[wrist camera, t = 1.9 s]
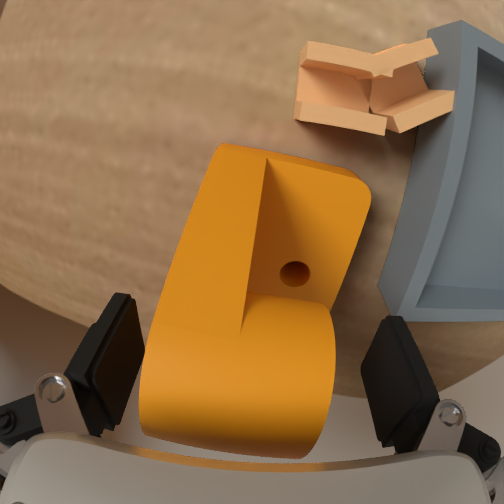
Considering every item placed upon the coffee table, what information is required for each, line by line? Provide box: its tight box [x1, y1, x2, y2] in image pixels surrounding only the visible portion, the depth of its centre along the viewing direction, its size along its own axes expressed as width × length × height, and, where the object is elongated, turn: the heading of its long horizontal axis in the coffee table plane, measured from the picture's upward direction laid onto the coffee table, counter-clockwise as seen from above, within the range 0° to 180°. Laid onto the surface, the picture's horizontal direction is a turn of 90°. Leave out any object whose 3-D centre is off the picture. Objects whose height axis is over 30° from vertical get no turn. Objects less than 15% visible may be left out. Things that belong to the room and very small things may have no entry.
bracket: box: [139, 143, 371, 459], centre depth 12 cm, size 11×7×12 cm, turn 169°
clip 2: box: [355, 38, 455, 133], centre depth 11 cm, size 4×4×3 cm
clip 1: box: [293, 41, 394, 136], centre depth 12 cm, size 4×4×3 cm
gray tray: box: [377, 20, 504, 322], centre depth 13 cm, size 12×16×4 cm
